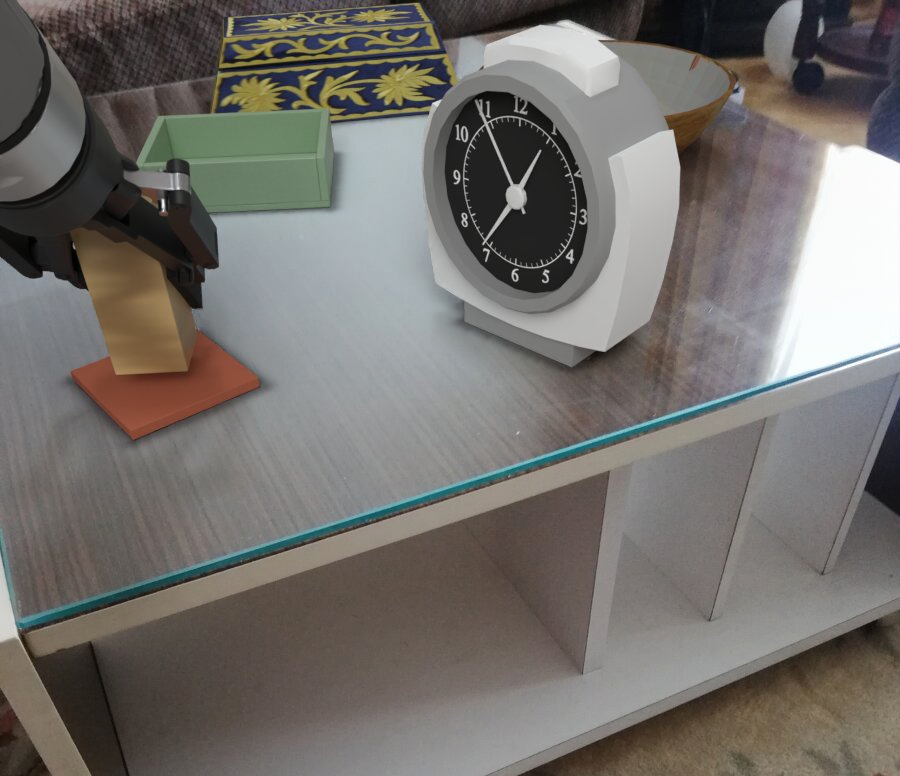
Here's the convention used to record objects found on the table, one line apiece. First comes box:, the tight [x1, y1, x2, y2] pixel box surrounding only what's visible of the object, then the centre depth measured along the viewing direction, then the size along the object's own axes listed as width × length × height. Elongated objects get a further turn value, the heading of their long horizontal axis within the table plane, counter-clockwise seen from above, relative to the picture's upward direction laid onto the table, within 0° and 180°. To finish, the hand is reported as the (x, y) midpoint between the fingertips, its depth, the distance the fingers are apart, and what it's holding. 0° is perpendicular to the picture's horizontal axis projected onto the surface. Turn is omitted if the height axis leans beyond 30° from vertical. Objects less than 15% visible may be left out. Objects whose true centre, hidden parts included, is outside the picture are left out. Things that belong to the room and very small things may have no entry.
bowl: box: [477, 39, 737, 155], centre depth 92 cm, size 25×25×8 cm
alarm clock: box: [421, 24, 681, 368], centre depth 64 cm, size 18×8×20 cm, turn 48°
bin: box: [135, 109, 335, 214], centre depth 91 cm, size 18×14×5 cm
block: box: [70, 195, 197, 375], centre depth 61 cm, size 5×5×11 cm
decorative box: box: [209, 1, 459, 123], centre depth 105 cm, size 11×30×9 cm, turn 101°
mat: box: [70, 328, 260, 441], centre depth 67 cm, size 10×10×1 cm
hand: (156, 291), depth 66 cm, fingers closed on block, 5 cm apart
